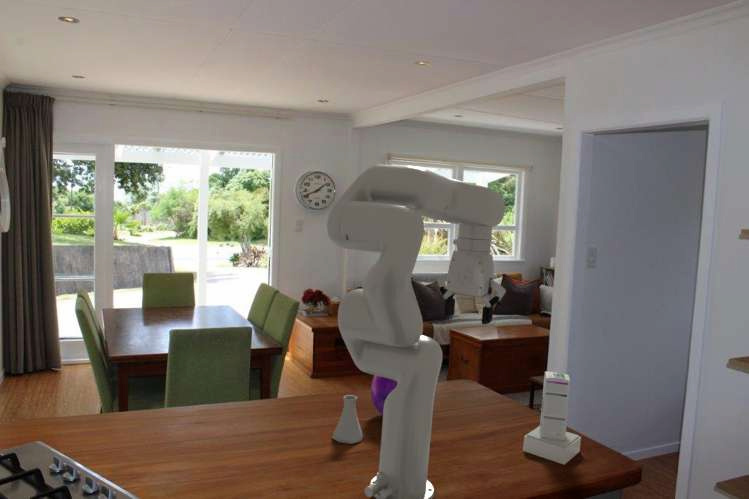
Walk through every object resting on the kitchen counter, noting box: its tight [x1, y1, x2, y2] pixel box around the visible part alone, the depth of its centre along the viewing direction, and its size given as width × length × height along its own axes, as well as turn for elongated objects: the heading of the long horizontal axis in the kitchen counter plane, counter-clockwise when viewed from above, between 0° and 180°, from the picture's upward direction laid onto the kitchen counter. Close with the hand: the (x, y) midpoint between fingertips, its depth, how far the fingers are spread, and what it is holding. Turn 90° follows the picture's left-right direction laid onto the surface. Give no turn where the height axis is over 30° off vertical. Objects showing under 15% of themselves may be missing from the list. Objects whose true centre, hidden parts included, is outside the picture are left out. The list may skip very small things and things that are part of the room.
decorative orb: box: [370, 375, 398, 416], centre depth 157 cm, size 15×15×15 cm
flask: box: [331, 394, 364, 445], centre depth 143 cm, size 7×7×10 cm
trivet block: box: [522, 425, 582, 466], centre depth 144 cm, size 10×10×4 cm
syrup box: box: [539, 371, 571, 441], centre depth 143 cm, size 6×6×14 cm
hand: (467, 319), depth 141 cm, fingers open, 9 cm apart
